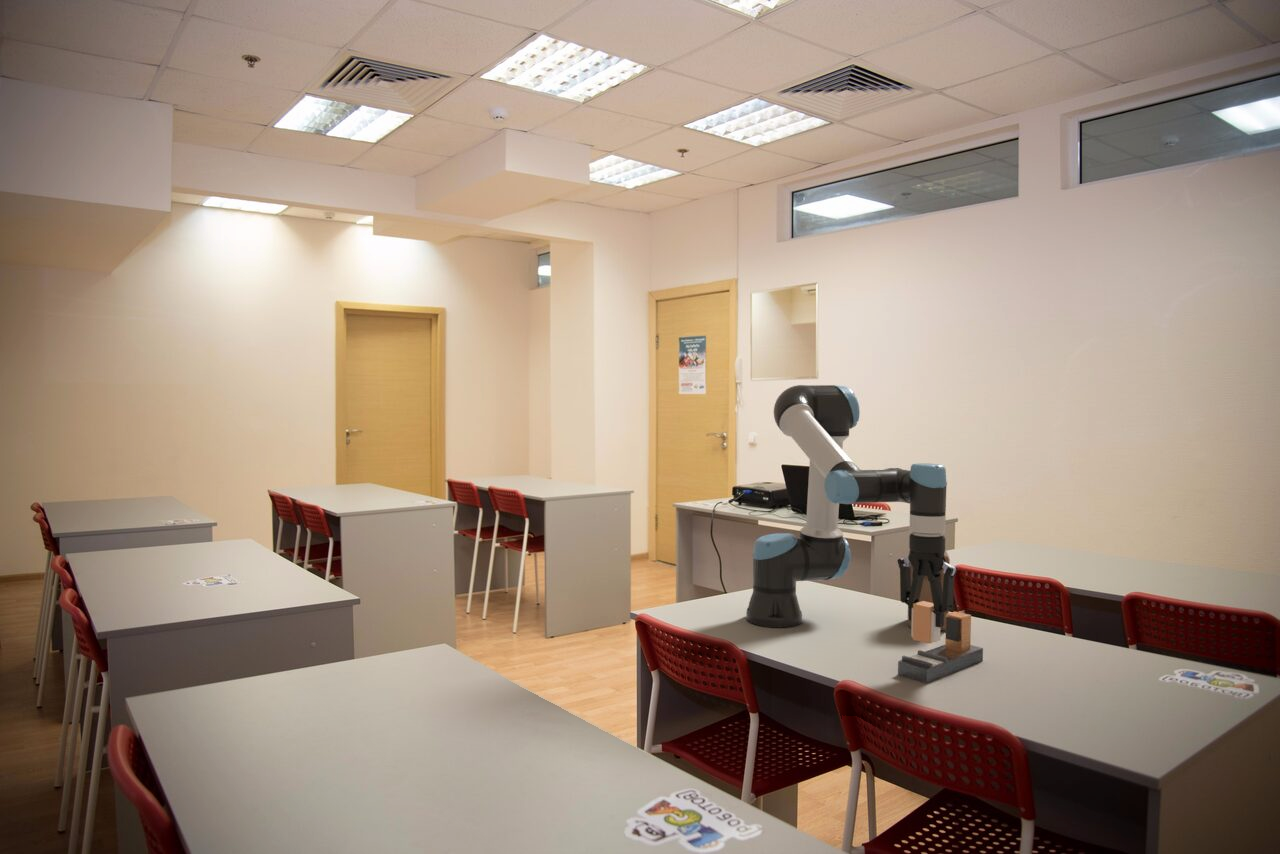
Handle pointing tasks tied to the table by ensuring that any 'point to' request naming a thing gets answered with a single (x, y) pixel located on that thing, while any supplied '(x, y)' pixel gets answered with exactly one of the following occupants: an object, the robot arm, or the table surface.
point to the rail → (944, 653)
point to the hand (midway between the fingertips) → (925, 638)
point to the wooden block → (929, 591)
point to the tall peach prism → (922, 621)
